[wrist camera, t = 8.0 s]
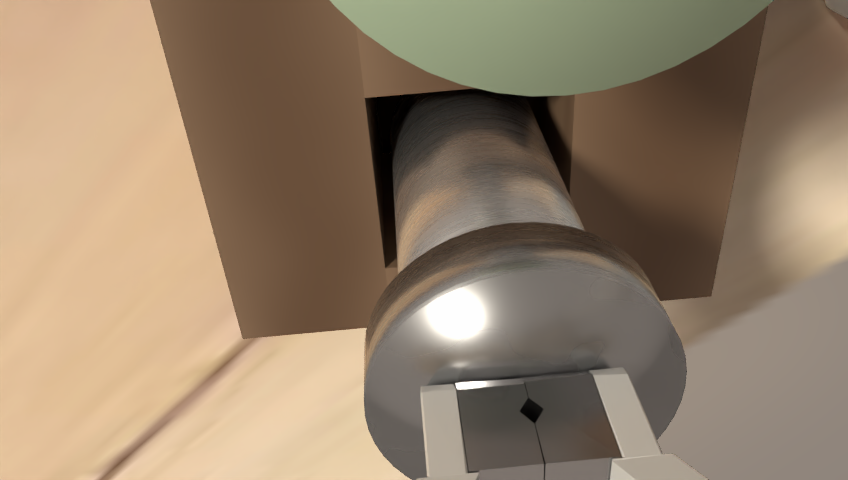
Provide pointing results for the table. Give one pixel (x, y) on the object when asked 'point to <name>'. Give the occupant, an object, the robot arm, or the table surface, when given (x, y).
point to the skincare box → (838, 6)
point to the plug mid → (548, 38)
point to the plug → (499, 274)
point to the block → (372, 171)
